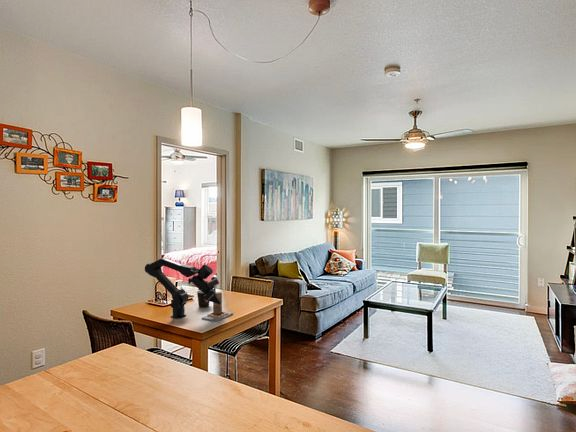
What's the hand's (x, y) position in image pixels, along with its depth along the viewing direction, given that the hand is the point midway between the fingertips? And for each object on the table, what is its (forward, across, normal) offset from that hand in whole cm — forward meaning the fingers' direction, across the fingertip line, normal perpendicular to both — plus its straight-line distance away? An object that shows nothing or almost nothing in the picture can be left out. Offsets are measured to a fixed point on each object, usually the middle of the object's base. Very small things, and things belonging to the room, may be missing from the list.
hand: (220, 301), depth 205 cm
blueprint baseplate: (+5, 0, +7) cm, 9 cm away
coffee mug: (0, +25, +13) cm, 28 cm away
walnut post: (+4, 0, +7) cm, 8 cm away
